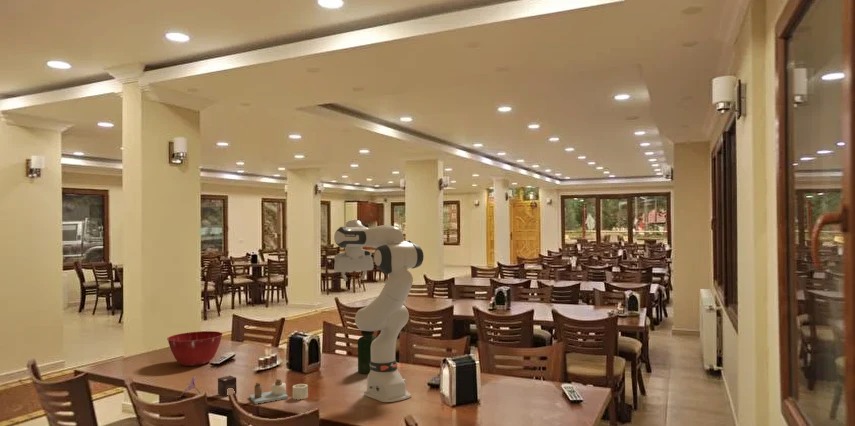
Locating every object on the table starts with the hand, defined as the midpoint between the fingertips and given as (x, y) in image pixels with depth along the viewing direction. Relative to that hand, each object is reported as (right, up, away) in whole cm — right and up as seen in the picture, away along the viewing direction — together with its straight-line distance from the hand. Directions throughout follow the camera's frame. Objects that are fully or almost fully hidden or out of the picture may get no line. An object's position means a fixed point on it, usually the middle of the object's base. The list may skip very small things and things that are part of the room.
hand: (354, 280), depth 273 cm
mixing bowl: (-93, -50, +31) cm, 110 cm away
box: (-54, -49, -26) cm, 77 cm away
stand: (-33, -48, -33) cm, 67 cm away
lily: (-70, -49, -27) cm, 90 cm away
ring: (-19, -48, -33) cm, 61 cm away
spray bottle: (+6, -48, +7) cm, 49 cm away
